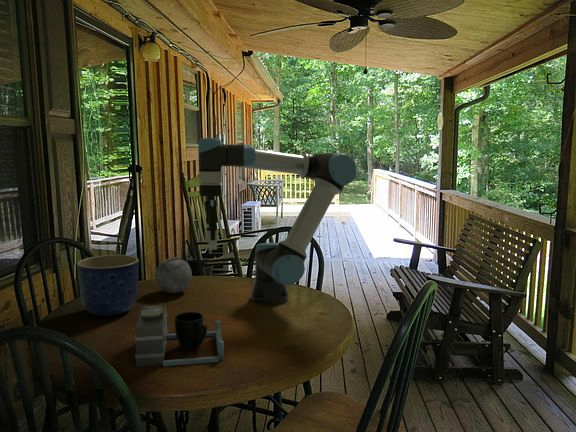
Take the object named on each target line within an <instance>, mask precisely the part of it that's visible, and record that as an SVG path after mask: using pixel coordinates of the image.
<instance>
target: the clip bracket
mask: <svg viewBox="0 0 576 432" xmlns="http://www.w3.org/2000/svg"><path fill="white" fill-rule="evenodd" d="M214 323H215V324H214V326H215V327H214V328H215V330H212V331H207V333H206V336H205V338H207V337H215V343H216V351H217V356H216V355H215V356H204V357H203V356H202V357H192V358H179V359H176V358H175V359H167V360H165V359H164V360H163V365H162V366H163V367H171V366H183V365H184V366H185V365H194V364H195V365H196V364H197V365H198V364H207V363H208V364H209V363H210V364H211V363H219V362H220V361H223V360H225V341H224V340H223V336H222V331H221V321H220V320H215V322H214ZM174 339H175V340H177V337H176V333H167V340H174Z"/></svg>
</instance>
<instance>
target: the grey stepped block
mask: <svg viewBox="0 0 576 432" xmlns="http://www.w3.org/2000/svg"><path fill="white" fill-rule="evenodd" d="M167 319H168V312H167V305H166V304H161V305H158V304H157V305H144V306H143V305H142V307H141V309H140V313H139V317H138V319H137V322H136V325H135V330H134V331H135V335H134V341H135V355H134V357H135V358H134V359H135V360H136V362H135V363H136V368H143V367H154V366H163V360H165V355H166V347H167V341H168V339H167V334H168V326H167Z"/></svg>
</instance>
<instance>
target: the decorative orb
mask: <svg viewBox="0 0 576 432" xmlns="http://www.w3.org/2000/svg"><path fill="white" fill-rule="evenodd" d="M192 276H193V273H192V268H191V266H190V265H189V263H188V262H187V261H185V260H184V259H183V258H181V257H170V258H167V259H165V260H163V261H162V262H161V263H160V264H159V265H158V267H157V268H156V269H155V272H154V279H155V283H156V285H157V286H158V288H159V289H160V290H162V291H163V292H165V293H168V294H178V293H180V292H183V291H185V290H186V289H187V287H189V286H190V283H191V281H192V278H193V277H192Z"/></svg>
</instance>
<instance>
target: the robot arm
mask: <svg viewBox="0 0 576 432" xmlns="http://www.w3.org/2000/svg"><path fill="white" fill-rule="evenodd" d="M197 148H198V150H197V153H198V174H197V175H196V177H197V178H198V179H199V180H198V183H199V186H198V193H199V196H201V197H205V200H204V209H205V223H206V224H205V226H206V227H205V230H206V233H205V234H206V235H205V236H206V238H205V239H206V243H208V250H209V251H216V250H218V230H217V229H218V221H217V220H218V219H217V218H218V217H217V210H218V209H217V207H218V201H217V200H216V199H215V197H221V196H222V195H223V192H222V190H223V189H222V184H221V183H222V182H223V181H222V180H223V179H222V178H223V177H222V175H223V174H222V167H236V168H246V169H252V170H253V169H254V170H260V171H270V172H277V173H286V174H293V175H298V176H299V178H304V179H305V178H306V179H310V180H313V183H314V186H313V187H312V189H311V191H310V193H309V195H308V197H307V199H306V201H305V202H304V205H303V207H302V208H301V209H300V212H299V214H298V215H297V217H296V219H295V220H294V222H293V225H292V227H291V228H290V231H289V232H288V234H287V236H286V237H285V239H284V240H281V241H279V242H262V243H258V244H256V245H255V251H254V254H255V256H254V258H255V259H254V260H255V261H254V262H255V264H254V265H255V269H254V271H255V272H254V273H255V275H254V276H255V278H254V279H255V280H254V283H253V286H252V289H251V292H250V300H251V301H252V302H253V303H255V304H259V305H269V306H271V305H279V304H283V303H286V302H288V300H289V292H288V289H287V286H292V285H294V284H296V283H298V282H299V281H300V280H301V279H302V277H303V276H304V274H305V271H306V268H305V260H306V259H307V257H308V256H307V253H306V252H307V251H306V250H307V249H308V248H309V246H310V243H311V241H312V238H313V237H314V235H315V234H316V232H317V229H318V228H319V226H320V224H321V222H322V220H323V218H324V216H325V215H326V213H327V211H328V209H329V207H330V205H331V204H332V201H333V200H334V198H335V196H336V195H339V194H341V193H342V191H343V189H344V188H345V186H346V185H349V184H351V183H352V182H353V181H354V180H355V178H356V175H357V167H356V163H355V160H354V158H352V156H351V155H348V154H346V153H342V152H335V153H331V152H328V153H327V152H325V153H324V152H323V153H311V154H310V153H306V152H305V153H302V154H301V155H299V154H293V153H286V152H278V151H270V150H263V149H256V148H255V146H254V145H252V144H246V143H245V144H224V143H223V144H222V140H221V139H220V138H218V137H216V138H215V137H203V138H202V137H201V138H200V139H199V140H198V147H197Z"/></svg>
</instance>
